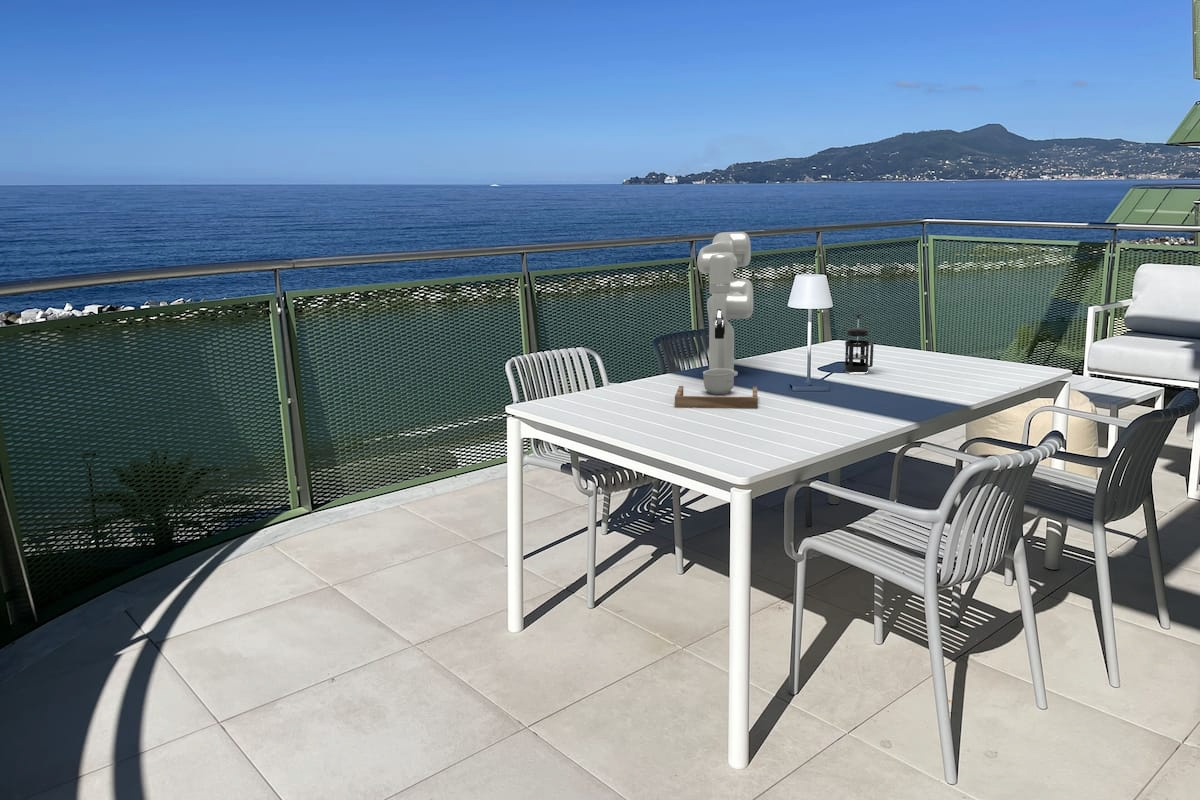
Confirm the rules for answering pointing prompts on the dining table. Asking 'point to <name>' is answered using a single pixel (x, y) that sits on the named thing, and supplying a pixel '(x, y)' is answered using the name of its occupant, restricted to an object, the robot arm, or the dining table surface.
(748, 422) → the dining table surface
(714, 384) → the teacup
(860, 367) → the french press
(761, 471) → the dining table surface
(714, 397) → the walnut bay
